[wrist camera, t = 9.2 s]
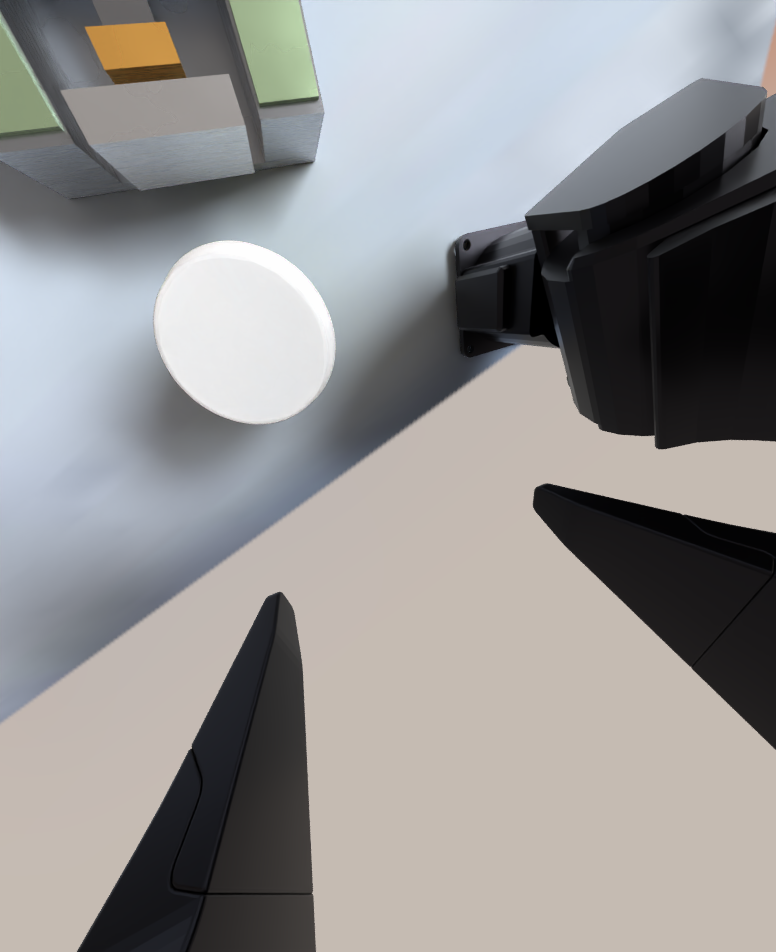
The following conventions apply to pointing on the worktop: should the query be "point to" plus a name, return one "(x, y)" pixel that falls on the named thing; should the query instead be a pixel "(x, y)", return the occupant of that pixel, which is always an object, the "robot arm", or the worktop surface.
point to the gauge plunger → (157, 106)
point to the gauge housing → (201, 54)
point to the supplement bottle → (244, 332)
